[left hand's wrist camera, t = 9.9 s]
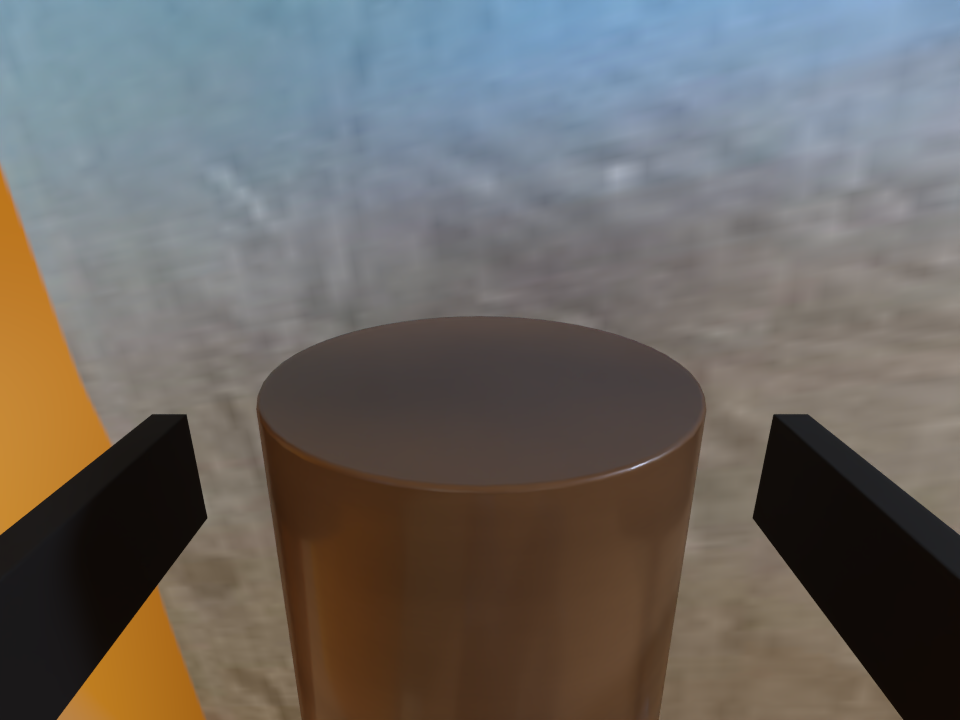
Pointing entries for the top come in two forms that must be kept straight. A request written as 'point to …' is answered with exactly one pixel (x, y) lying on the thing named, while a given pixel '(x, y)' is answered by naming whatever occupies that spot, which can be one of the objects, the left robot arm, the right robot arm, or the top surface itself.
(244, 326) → the top surface
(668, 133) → the top surface
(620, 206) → the top surface
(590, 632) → the rod
